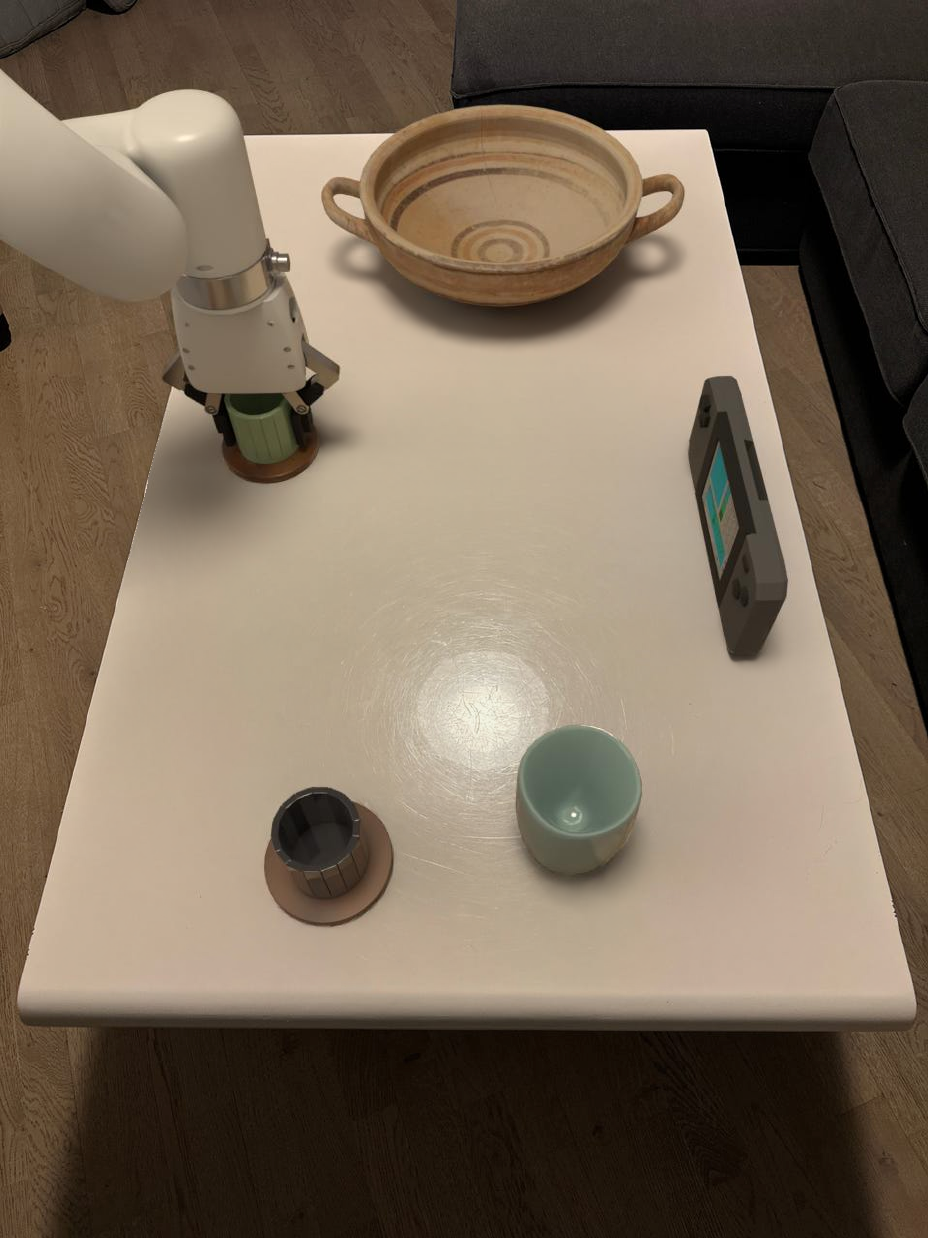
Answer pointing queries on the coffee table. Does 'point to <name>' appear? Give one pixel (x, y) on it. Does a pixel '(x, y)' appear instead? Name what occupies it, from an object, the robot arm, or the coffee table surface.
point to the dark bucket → (320, 842)
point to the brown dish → (275, 470)
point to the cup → (576, 798)
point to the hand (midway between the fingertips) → (267, 434)
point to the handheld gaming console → (736, 518)
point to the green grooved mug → (262, 426)
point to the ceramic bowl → (501, 203)
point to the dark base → (347, 904)
